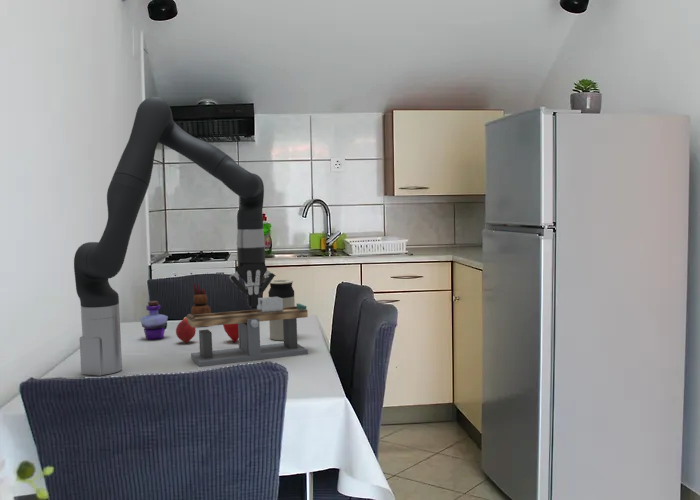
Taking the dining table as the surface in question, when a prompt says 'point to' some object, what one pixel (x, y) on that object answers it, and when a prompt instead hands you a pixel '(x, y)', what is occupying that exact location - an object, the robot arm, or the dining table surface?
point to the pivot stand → (249, 345)
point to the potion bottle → (154, 322)
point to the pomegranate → (185, 331)
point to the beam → (245, 316)
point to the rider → (270, 305)
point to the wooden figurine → (200, 302)
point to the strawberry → (232, 331)
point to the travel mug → (287, 294)
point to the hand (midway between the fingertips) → (252, 307)
